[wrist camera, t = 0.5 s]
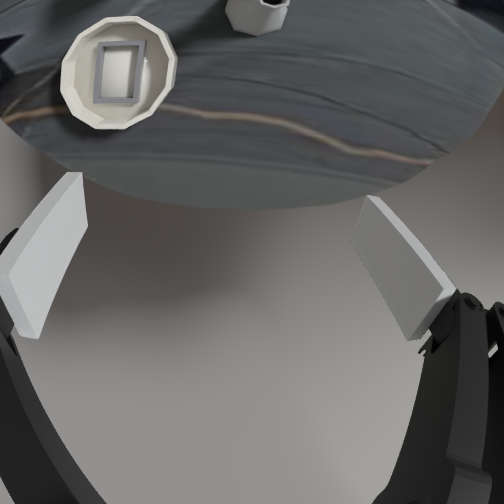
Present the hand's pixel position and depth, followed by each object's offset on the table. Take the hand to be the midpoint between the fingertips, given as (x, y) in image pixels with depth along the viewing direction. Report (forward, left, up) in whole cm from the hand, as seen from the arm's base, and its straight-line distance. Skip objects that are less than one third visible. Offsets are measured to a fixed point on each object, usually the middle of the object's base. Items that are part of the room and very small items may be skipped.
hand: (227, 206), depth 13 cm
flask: (-13, +3, -26) cm, 29 cm away
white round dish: (-4, -12, -25) cm, 28 cm away
